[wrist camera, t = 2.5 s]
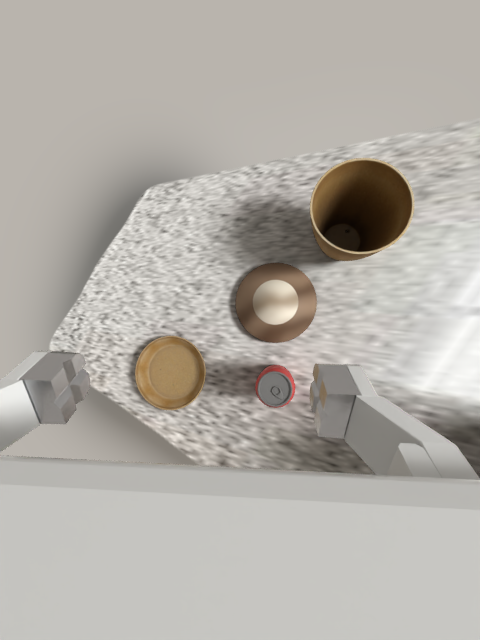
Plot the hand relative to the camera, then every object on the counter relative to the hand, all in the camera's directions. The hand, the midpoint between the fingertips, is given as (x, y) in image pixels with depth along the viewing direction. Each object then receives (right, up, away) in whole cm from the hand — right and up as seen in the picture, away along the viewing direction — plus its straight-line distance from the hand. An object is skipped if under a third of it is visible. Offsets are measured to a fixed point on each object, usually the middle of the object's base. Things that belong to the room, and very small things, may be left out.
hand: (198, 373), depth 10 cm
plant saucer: (-12, -9, +52) cm, 54 cm away
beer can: (+9, -10, +48) cm, 50 cm away
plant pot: (+22, +17, +49) cm, 57 cm away
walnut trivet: (+9, +5, +50) cm, 51 cm away
